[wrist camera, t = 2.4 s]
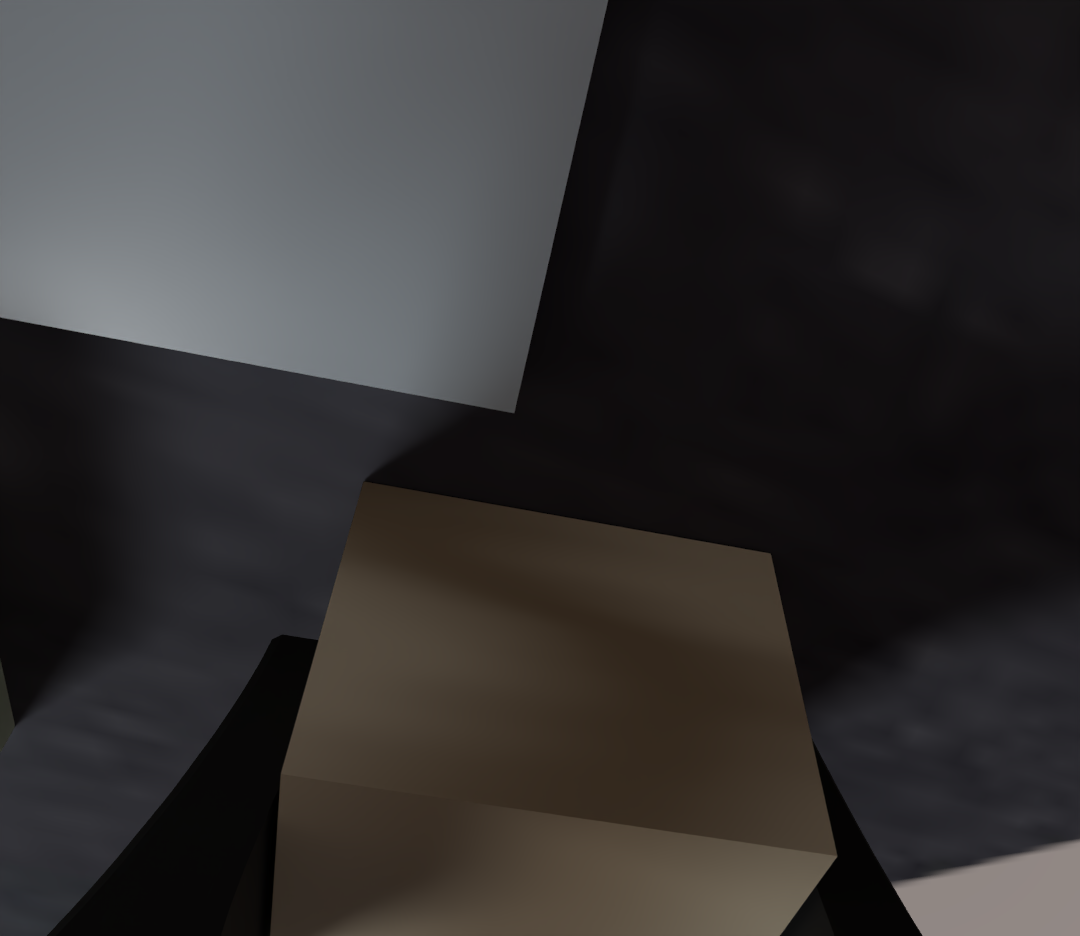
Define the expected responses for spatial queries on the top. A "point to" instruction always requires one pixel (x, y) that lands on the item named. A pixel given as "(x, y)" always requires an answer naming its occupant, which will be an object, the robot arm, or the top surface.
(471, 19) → the baseplate
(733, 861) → the beech block
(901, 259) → the top surface
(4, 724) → the sage block
